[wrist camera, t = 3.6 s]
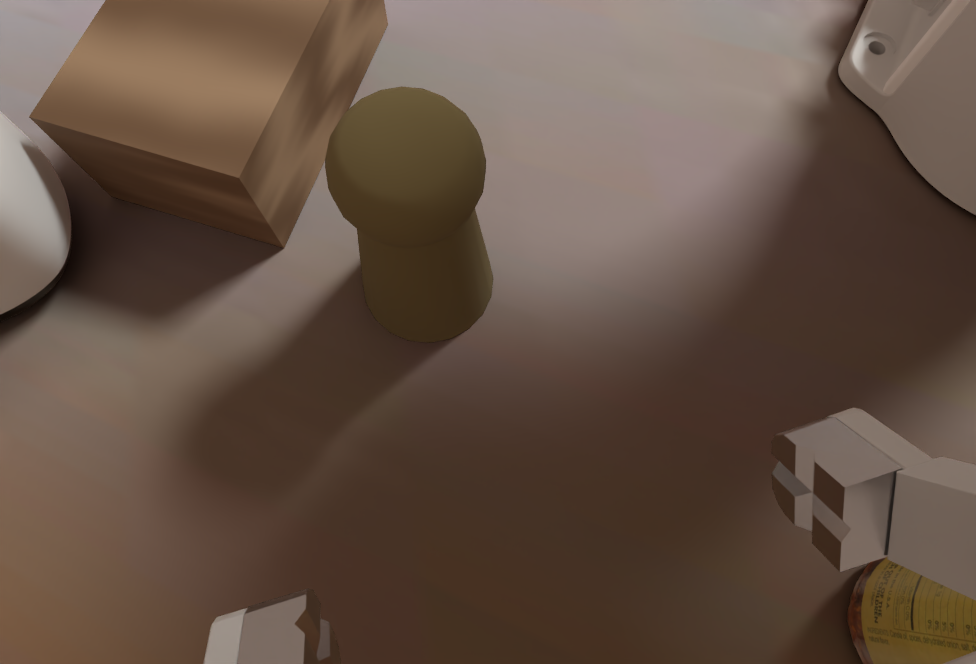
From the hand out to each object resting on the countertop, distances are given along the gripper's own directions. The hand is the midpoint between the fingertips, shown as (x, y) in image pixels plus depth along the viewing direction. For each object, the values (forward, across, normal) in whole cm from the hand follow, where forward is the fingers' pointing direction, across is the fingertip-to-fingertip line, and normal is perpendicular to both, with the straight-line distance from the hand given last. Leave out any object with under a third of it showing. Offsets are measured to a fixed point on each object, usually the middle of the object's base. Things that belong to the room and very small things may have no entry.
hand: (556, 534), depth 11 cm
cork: (+20, 0, +3) cm, 20 cm away
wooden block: (+28, +6, -6) cm, 30 cm away
